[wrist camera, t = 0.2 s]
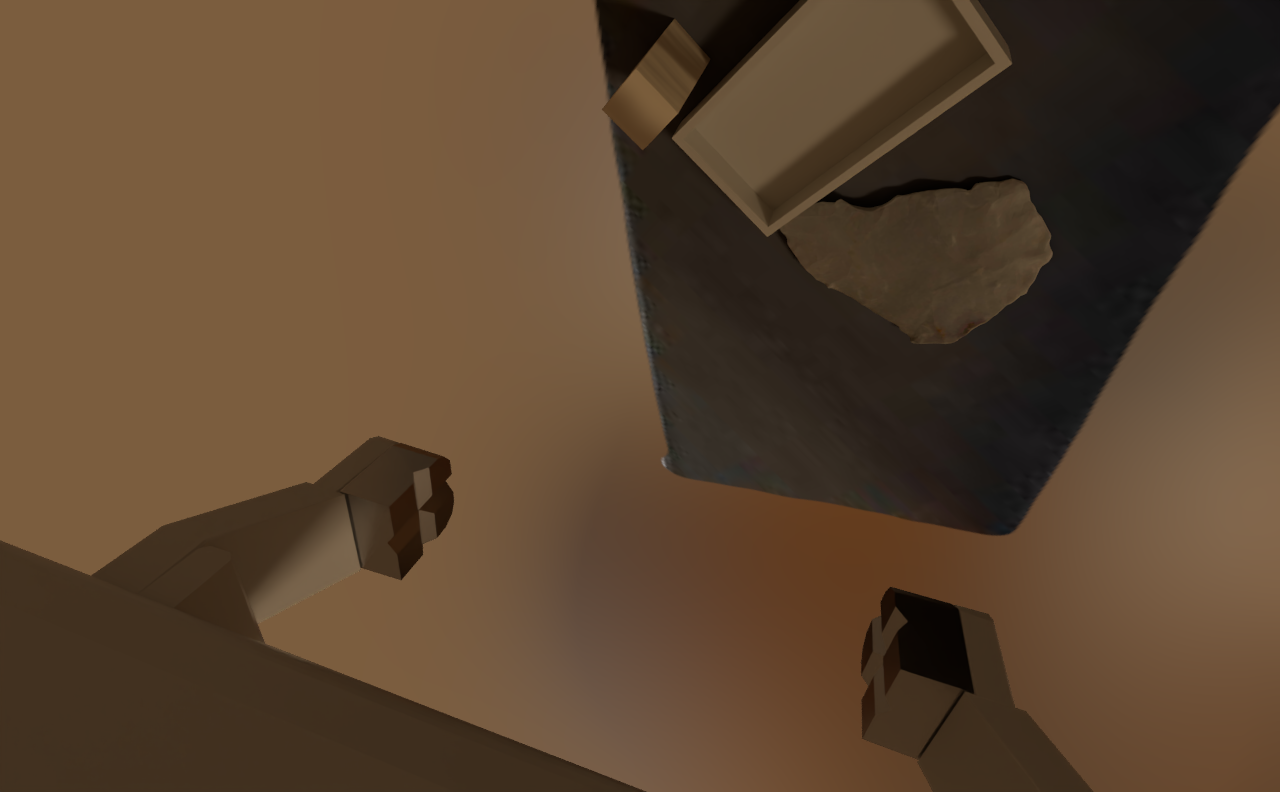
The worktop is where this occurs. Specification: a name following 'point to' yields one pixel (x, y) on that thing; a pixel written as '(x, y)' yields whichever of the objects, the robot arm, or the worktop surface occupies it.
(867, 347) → the worktop surface
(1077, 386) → the worktop surface
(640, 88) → the birch block
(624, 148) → the worktop surface
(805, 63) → the beige tray
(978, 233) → the stone tool
